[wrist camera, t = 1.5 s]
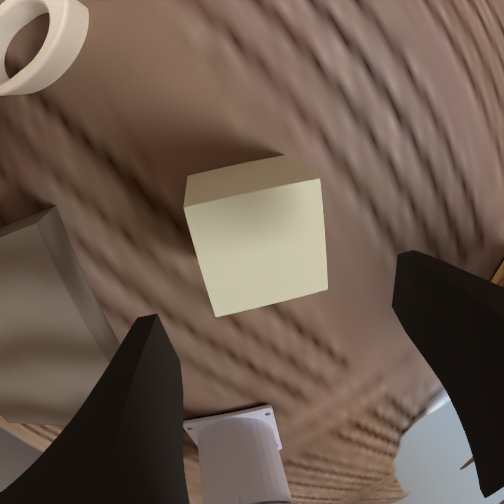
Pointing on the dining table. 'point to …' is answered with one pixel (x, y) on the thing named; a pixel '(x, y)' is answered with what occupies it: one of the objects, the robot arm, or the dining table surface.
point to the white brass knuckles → (54, 48)
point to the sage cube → (257, 233)
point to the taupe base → (47, 324)
